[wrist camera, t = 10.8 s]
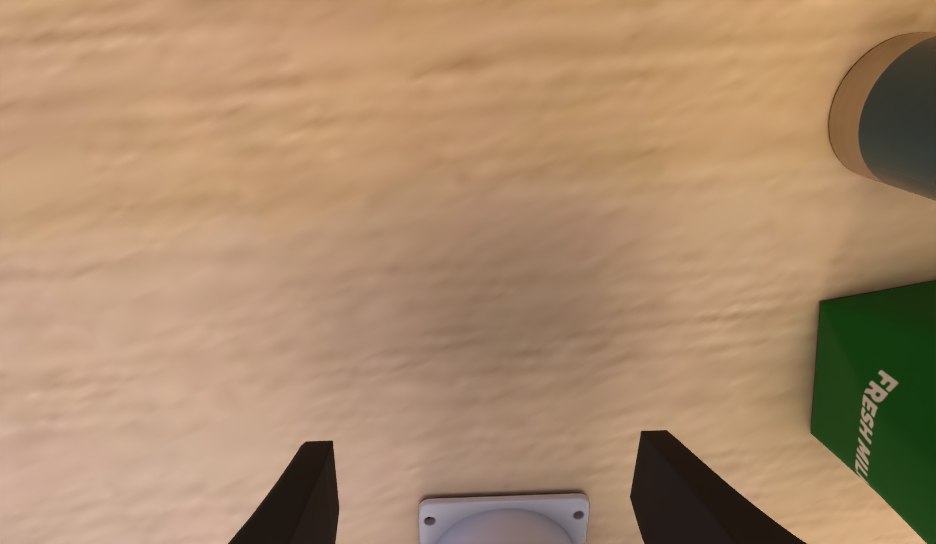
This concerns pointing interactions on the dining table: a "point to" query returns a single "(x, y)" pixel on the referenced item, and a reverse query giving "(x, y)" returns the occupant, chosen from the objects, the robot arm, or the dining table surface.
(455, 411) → the dining table surface
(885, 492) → the milk carton
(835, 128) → the tin can
